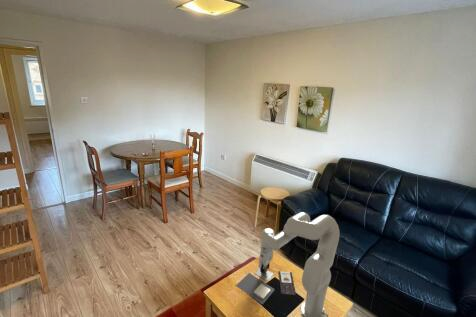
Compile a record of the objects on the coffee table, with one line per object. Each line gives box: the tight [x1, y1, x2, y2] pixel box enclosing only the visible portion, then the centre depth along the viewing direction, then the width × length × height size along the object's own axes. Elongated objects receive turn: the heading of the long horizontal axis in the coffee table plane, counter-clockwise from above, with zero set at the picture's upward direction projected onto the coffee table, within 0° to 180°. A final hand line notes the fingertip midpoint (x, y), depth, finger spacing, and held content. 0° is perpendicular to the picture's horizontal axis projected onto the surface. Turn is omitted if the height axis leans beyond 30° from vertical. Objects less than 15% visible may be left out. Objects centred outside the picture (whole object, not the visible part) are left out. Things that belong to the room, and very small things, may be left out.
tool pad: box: [254, 267, 274, 282], centre depth 161 cm, size 10×8×1 cm
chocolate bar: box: [278, 270, 297, 297], centre depth 155 cm, size 9×1×18 cm
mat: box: [235, 272, 275, 305], centre depth 150 cm, size 20×14×1 cm
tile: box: [254, 284, 271, 299], centre depth 147 cm, size 1×8×7 cm
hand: (264, 269), depth 159 cm, fingers closed on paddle, 4 cm apart
